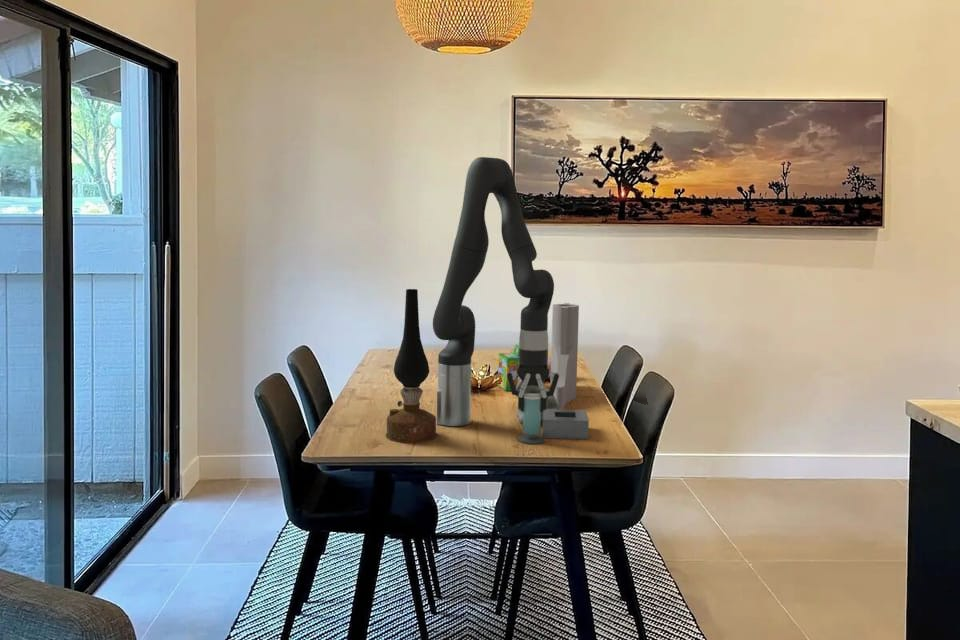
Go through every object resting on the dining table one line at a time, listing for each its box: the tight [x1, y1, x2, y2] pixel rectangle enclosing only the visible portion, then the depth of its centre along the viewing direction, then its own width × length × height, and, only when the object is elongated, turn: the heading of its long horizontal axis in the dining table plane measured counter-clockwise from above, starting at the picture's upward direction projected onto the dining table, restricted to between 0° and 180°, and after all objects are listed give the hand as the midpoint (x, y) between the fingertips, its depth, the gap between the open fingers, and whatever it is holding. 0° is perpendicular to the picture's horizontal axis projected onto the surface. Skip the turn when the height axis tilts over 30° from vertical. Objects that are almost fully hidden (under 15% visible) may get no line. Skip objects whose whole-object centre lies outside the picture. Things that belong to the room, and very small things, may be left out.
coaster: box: [517, 434, 546, 445], centre depth 223 cm, size 7×7×1 cm
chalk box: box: [497, 344, 519, 392], centre depth 286 cm, size 9×9×15 cm
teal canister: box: [522, 394, 542, 436], centre depth 222 cm, size 5×5×10 cm
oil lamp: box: [385, 288, 438, 444], centre depth 224 cm, size 14×15×40 cm
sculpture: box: [516, 377, 559, 425], centre depth 246 cm, size 11×21×15 cm, turn 168°
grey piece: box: [550, 302, 580, 409], centre depth 272 cm, size 36×8×30 cm, turn 171°
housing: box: [541, 408, 590, 440], centre depth 231 cm, size 12×12×5 cm
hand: (532, 410), depth 222 cm, fingers closed on teal canister, 4 cm apart
